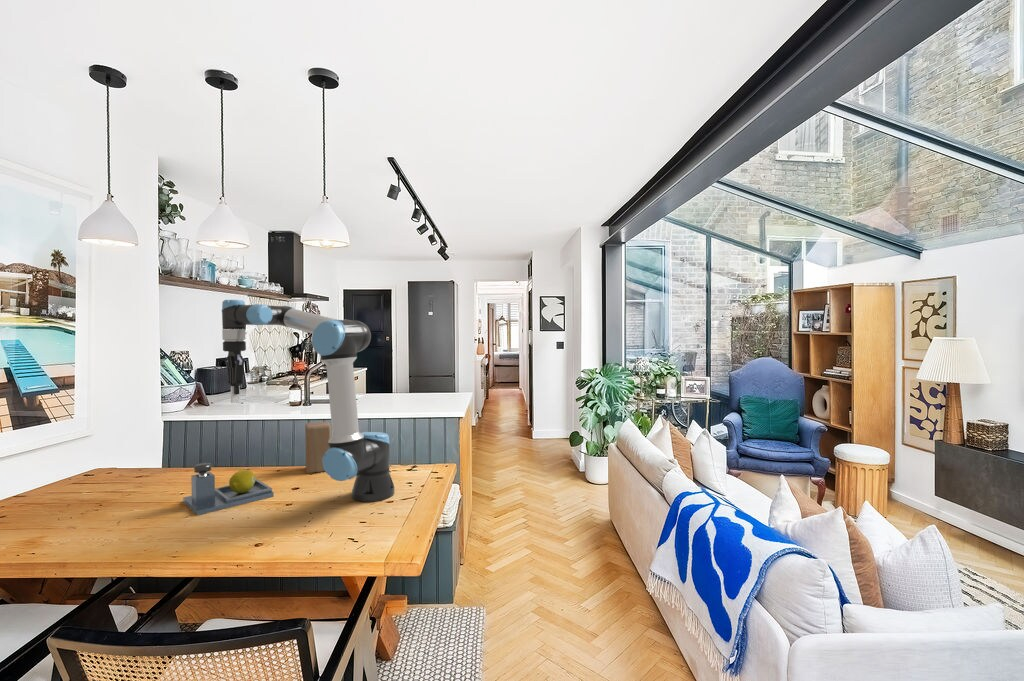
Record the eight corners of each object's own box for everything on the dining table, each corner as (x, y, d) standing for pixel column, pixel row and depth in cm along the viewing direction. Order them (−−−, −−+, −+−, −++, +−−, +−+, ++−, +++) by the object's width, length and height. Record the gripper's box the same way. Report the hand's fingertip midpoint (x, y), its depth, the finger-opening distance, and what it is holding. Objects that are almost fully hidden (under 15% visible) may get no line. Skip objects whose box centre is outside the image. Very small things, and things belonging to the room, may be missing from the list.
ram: (213, 494, 165) (213, 464, 165) (196, 498, 161) (196, 467, 161) (209, 491, 168) (208, 461, 168) (192, 494, 165) (192, 464, 164)
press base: (273, 496, 174) (273, 468, 173) (197, 515, 156) (196, 484, 156) (255, 485, 186) (255, 458, 185) (183, 501, 168) (182, 472, 168)
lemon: (242, 497, 168) (241, 475, 168) (222, 496, 169) (222, 474, 169) (262, 487, 179) (262, 466, 178) (244, 486, 180) (244, 465, 180)
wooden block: (305, 467, 209) (305, 422, 208) (329, 465, 213) (329, 420, 212) (306, 474, 200) (305, 427, 199) (331, 471, 204) (331, 425, 203)
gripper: (251, 340, 178) (252, 403, 178) (238, 340, 186) (240, 399, 187) (229, 341, 172) (230, 405, 173) (217, 340, 181) (218, 402, 181)
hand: (235, 402), depth 180 cm, fingers closed
